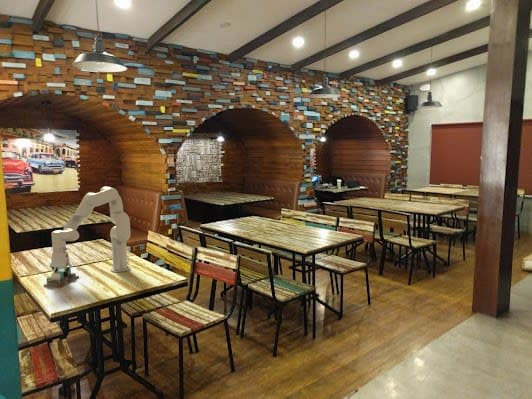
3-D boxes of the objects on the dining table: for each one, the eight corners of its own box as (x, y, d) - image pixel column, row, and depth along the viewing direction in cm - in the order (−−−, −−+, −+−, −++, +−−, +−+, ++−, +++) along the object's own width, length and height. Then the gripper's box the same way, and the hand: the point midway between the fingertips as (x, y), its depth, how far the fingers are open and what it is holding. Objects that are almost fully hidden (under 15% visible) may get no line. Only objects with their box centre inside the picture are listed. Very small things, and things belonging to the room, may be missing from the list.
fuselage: (64, 276, 264) (63, 268, 263) (71, 277, 263) (70, 268, 262) (51, 283, 251) (51, 274, 250) (59, 283, 250) (58, 274, 249)
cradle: (62, 276, 267) (61, 270, 266) (78, 277, 266) (78, 271, 265) (43, 286, 248) (42, 280, 248) (61, 287, 247) (61, 280, 246)
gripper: (75, 248, 257) (77, 275, 259) (50, 247, 259) (52, 274, 261) (68, 251, 250) (70, 279, 252) (43, 251, 251) (45, 278, 254)
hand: (61, 276), depth 257 cm, fingers open, 5 cm apart
